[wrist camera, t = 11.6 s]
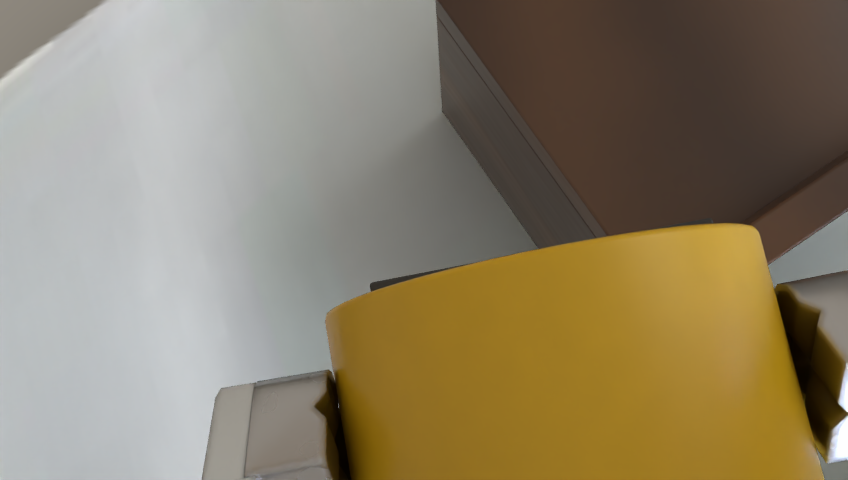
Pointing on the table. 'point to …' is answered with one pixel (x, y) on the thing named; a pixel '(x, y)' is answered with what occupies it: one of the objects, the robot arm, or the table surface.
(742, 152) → the shelf
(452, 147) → the table surface
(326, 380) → the robot arm
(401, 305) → the tape measure
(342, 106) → the table surface
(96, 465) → the table surface
